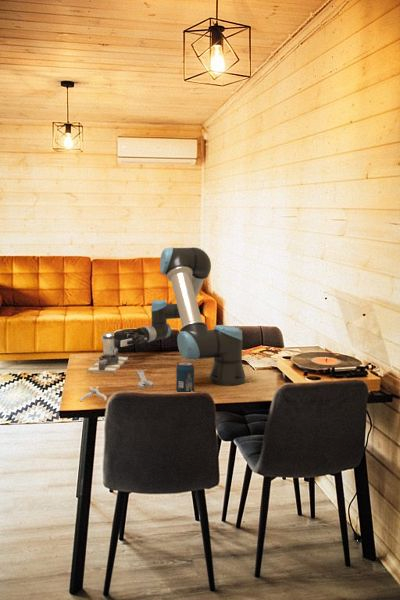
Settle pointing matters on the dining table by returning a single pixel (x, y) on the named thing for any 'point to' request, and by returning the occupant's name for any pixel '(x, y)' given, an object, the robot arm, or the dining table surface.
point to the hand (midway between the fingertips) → (111, 341)
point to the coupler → (108, 345)
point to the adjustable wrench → (143, 380)
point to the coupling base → (108, 364)
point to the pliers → (93, 392)
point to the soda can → (185, 377)
